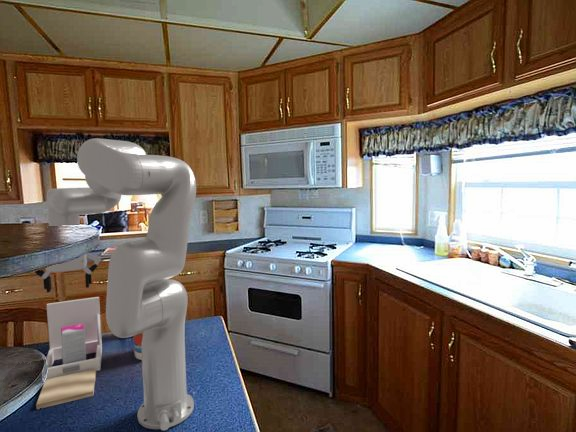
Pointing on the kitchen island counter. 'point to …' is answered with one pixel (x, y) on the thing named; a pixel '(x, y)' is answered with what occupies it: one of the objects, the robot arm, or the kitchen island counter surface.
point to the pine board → (67, 388)
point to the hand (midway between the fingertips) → (68, 288)
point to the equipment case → (68, 316)
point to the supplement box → (73, 344)
